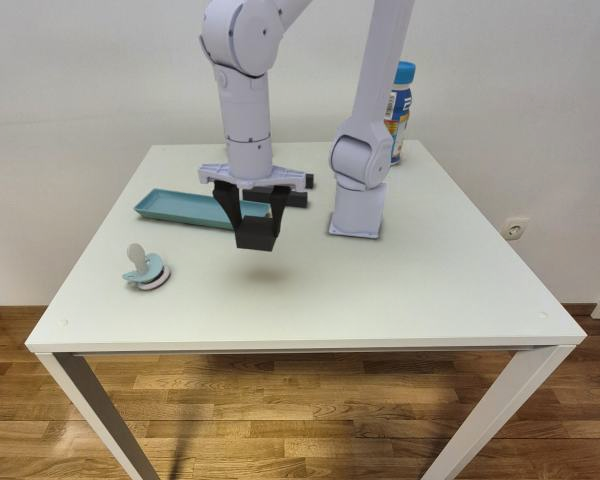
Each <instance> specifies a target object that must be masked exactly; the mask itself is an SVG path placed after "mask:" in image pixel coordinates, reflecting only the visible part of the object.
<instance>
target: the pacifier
mask: <svg viewBox="0 0 600 480" xmlns="http://www.w3.org/2000/svg"><path fill="white" fill-rule="evenodd" d="M126 256H127V258H128V259H129V260H130V262H132V264H134V267H135V268H136V269H135V270H132V271H128V272H126V273H124V274H122V275H121V278H122V279H124V280H126V281H129V282H134V283H137V287H138V288H139V289H140V290H152V289H154V288H157V287H159V286H160V285H162V284H163V283H164V282H165V281H166V280H167V279H168V278H169V276H170V273H171V271H170V267H169V266H167V265H164V263H163V259H162V257H161V256H160V255H159V254H157V253H155V252H151V253H148V254H146V251H145V249H144V248H143V246H142V245H141V244H139V243H136V242H133V243H131V244H129V245H128V246H127V248H126ZM148 262H149V263H148ZM161 272H163V273H162V275H161V276H160V278H158V279H157V280H155V281H153V280H154V279H155V278H156V277H158V276H159V275H160V274H161ZM152 281H153V282H152Z"/></svg>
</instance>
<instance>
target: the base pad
mask: <svg viewBox="0 0 600 480" xmlns="http://www.w3.org/2000/svg"><path fill="white" fill-rule="evenodd" d="M314 176H315V174H314V173H307V172H306V186H305V189H313V187H314V182H315V181H314V179H315V177H314ZM273 189H274V188H273V187H261V186H255V187H253V188H252V189H241V195H242V200H244V201H251V202H258V203H266V204H270V202H269V196H270V194H271V192H272V191H273ZM308 194H309V192H308V191H304V192H296V190H292V191H291V194H290V196H289V199H288V201H287V203H286V206H285V207H294V208H304V209H306V208H307V206H308V199H309V198H308V196H309V195H308Z"/></svg>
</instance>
